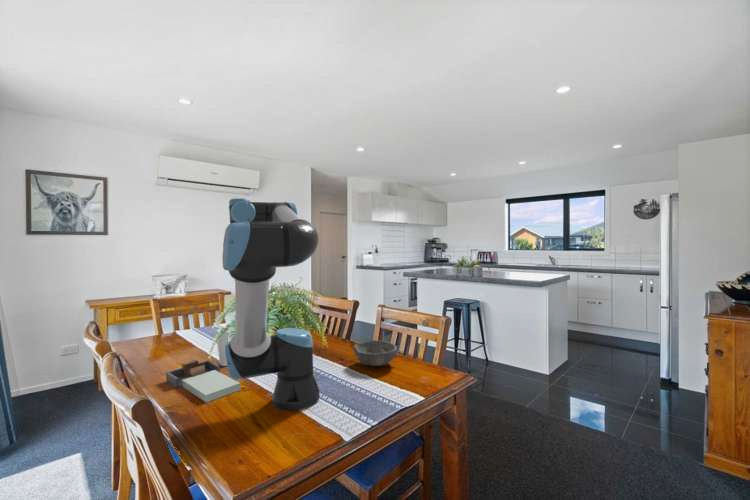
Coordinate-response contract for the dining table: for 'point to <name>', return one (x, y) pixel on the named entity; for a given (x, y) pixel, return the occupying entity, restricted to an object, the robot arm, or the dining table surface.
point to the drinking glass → (222, 347)
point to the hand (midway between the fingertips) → (244, 303)
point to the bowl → (375, 352)
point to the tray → (177, 377)
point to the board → (210, 385)
